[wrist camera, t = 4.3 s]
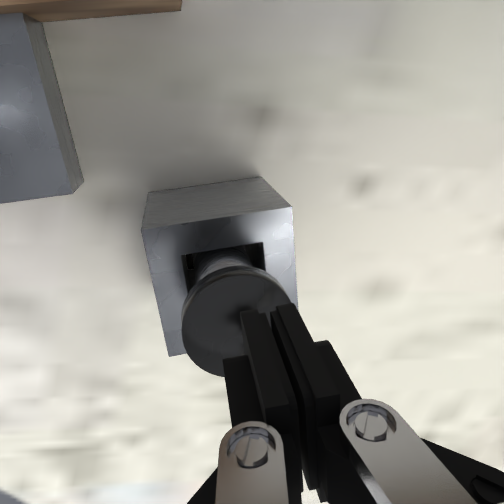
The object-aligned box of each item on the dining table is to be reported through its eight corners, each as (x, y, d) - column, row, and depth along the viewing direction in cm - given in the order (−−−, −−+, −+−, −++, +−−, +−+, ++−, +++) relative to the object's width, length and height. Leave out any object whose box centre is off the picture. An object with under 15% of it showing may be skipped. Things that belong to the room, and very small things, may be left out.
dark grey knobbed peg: (246, 199, 22) (293, 268, 13) (253, 267, 23) (299, 365, 15) (171, 210, 21) (172, 289, 13) (183, 278, 23) (191, 387, 14)
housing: (261, 176, 22) (291, 206, 16) (270, 276, 24) (299, 331, 19) (148, 192, 21) (141, 229, 16) (169, 293, 23) (168, 356, 18)
